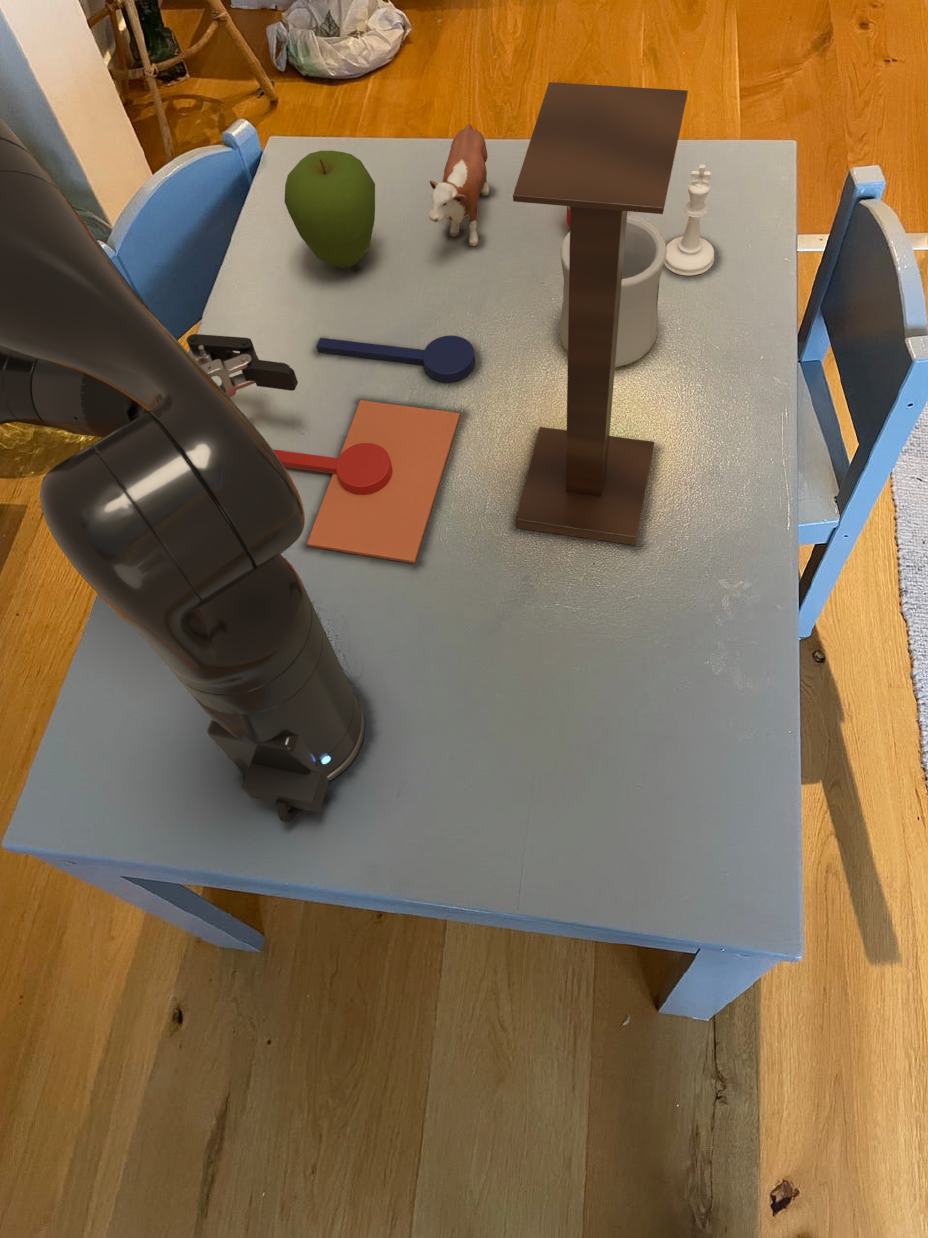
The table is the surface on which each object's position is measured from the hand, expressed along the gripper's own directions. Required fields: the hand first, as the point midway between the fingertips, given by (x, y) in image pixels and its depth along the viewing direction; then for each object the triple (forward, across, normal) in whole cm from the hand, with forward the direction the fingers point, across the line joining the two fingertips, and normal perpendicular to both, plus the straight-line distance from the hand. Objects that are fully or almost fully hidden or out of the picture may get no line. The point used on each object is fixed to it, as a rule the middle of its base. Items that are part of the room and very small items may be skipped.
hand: (278, 417), depth 77 cm
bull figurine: (+8, +33, +7) cm, 35 cm away
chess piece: (+31, +31, +7) cm, 44 cm away
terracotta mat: (+8, 0, +6) cm, 11 cm away
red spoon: (+1, 0, +6) cm, 6 cm away
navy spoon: (+5, +14, +7) cm, 16 cm away
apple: (-3, +26, +7) cm, 27 cm away
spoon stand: (+26, +2, +6) cm, 26 cm away
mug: (+24, +21, +7) cm, 32 cm away
